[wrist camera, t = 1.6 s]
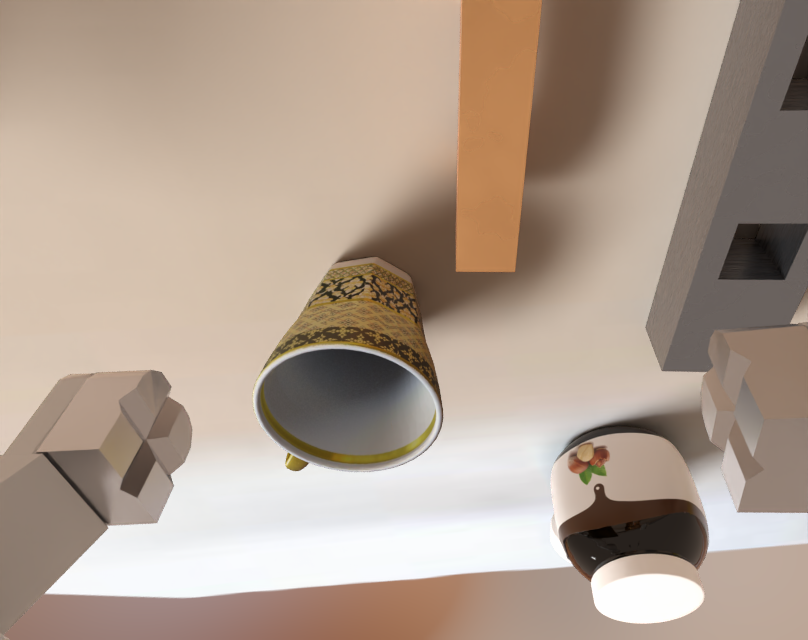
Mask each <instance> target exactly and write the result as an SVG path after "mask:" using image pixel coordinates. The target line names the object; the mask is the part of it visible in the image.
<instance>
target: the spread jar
mask: <svg viewBox="0 0 808 640" xmlns="http://www.w3.org/2000/svg"><path fill="white" fill-rule="evenodd" d="M551 495H552V502H553V509H554V514H553V517H552V519H551V530H550V539H551V543H552V545H553V547H554V549H555V550H556V551H557V552H558V554H559V555H561V556H562V557H563V558H564V559H565V560H567V561H568V562H570V563H571V564H573V566H574V567H575V568H576V569H577V570H578V572H579V573H581V574H582V575H583V576H584V577H585V578H586V579H587V580H589V581H590V582H591V586H592V592H593V597H594V603H595V606H596V608H597V609H598V610H599V611H600V612H601V613H602V614H604V615H605V616H607V617H610V618H612V619H615V620H619V621H623V622H629V623H657V622H664V621H669V620H673V619H676V618H680V617H682V616H685V615H687V614H689V613H691V612H693V611H694V610H695V609H697V608H698V607H699V606H700V605H701V604H702V602H703V601H704V597H705V593H704V589H703V586H702V583H701V580H700V577H699V574H698V571H697V570H698V569H699V568H700V566H701V564H702V563H703V561H704V559H705V556H706V554H707V550H708V545H709V534H708V525H707V520H706V516H705V512H704V509H703V506H702V503H701V500H700V497H699V494H698V492H697V489H696V486H695V484H694V481H693V478H692V476H691V473H690V471H689V469H688V467H687V465H686V463H685V461H684V459H683V457H682V456H681V454H680V453H679V452H678V450H677V449H676V448H675V446H674V445H673V444H672V443H671V442H669V441H668V440H667V439H666V438H664V437H663V436H661V435H659V434H657V433H655V432H652V431H650V430H646V429H642V428H637V427H629V426H612V427H605V428H600V429H597V430H594V431H591V432H589V433H587V434H584V435H583V436H581V437H579V438H578V439H576V440H575V441H573V442H572V443H571V444H570V445H568V446H567V447H566V448H565V449H564V450H563V451H562V452H561V454H560V455H559V456H558V457H557V459H556V461H555V463H554V465H553V467H552V472H551Z"/></svg>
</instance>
